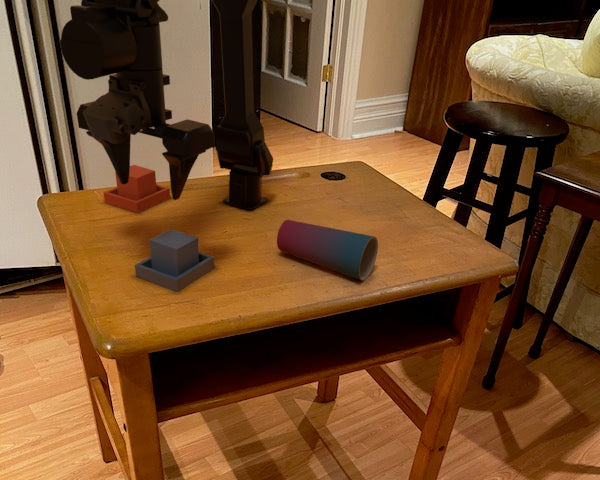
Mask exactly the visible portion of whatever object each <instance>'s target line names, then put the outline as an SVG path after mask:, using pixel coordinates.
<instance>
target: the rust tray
mask: <svg viewBox="0 0 600 480" xmlns="http://www.w3.org/2000/svg"><path fill="white" fill-rule="evenodd" d="M156 188H157V192H156V193H154V194H151V195H149V196H147V197H144V198H142V199H140V200H138V201H134V200H131V199H128V198H125V197H122V196H118V190H117V186H116V187H113V188H111V189H109V190H106V191H104V192H103V197H104V198H103V200H104V203H106V204H108V205H110V206H115V207H117V208H120V209H122V210H123V209H124V210H127V211H129V212H133V213H136V214H138V213H141V212H143V211H145V210H147V209H150V208H152V207H154V206H156V205H158V204H161V203H163V202H165V201H167V200H169V199H171V188H170V187H167V186H163V185H159V184H158V183H156Z"/></svg>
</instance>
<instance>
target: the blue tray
mask: <svg viewBox="0 0 600 480" xmlns="http://www.w3.org/2000/svg"><path fill="white" fill-rule="evenodd" d="M214 269H215V256H212V255H209V254H207V253H204V252H201V251H199V264H197V265H195V266H194V267H192V268H191V269H189V270H187V271H186V272H184V273H182V274H181V275H179V276H177V277H173V276H170V275H167V274H165V273H162V272H159V271H156V270H154V269H152V262H151V255H150V256H148V257H146V258H145V259H143V260H141V261H139V262H138V263H135V264H134V272H135V277H137V278H138V279H141V280H145V281H147V282H150V283H152V284H155V285H158V286H161V287H163V288H166V289H168V290H171V291H173V292H177V293H178V292H179V291H181V290H183V289H185V287H187V286H188V285H190V284H192V283H194V282H195V281H196V280H198V279H200V278H201V277H202V276H205V275H206V274H208V273H209V272H211V271H212V270H214Z"/></svg>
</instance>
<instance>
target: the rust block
mask: <svg viewBox="0 0 600 480" xmlns="http://www.w3.org/2000/svg"><path fill="white" fill-rule="evenodd" d="M114 173H115V181H116V182H115V183H116V187H117V190H118V196H122V197H125V198H128V199H131V200H134V201H138V200H140V199H142V198H144V197H147V196H149V195H151V194H154V193H156V192H157V188H156V184H157V178H156V177H157V176H156V170H153V169H151V168H147V167H144V166H140V165H137V164H132V165H130V173H129V181H128V183H127V184H121V182H120V180H119V178H118V176H117V173H116V171H114Z"/></svg>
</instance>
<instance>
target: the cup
mask: <svg viewBox="0 0 600 480" xmlns="http://www.w3.org/2000/svg"><path fill="white" fill-rule="evenodd" d="M276 247H277V248H278V250H279V251H280V252H283V253H285V254H288V255H291V256H293V257H297V258H299V259H302V260H305V261H308V262H310V263H312V264H315V265H319V266H321V267H324V268H326V269H329V270H332V271H335V272H336V273H337V272H338V273H340V274H342V275H346V276H349V277H351V278H354V279H356V280H359V281H362V282H363V281H365V280H367V279H368V278H369V277H370V275H371V273H372V270H373V269H374V266H375V264H376V260H377V256H378V251H379V240H378V238H377V237H376V236H373V235H369V234H364V233H358V232H354V231H348V230H344V229H337V228H332V227H328V226H322V225H318V224H312V223H307V222H302V221H297V220H292V219H285V220H284V221H283V222H282V223H281V225H280V227H279V228H278V231H277V235H276Z"/></svg>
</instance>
